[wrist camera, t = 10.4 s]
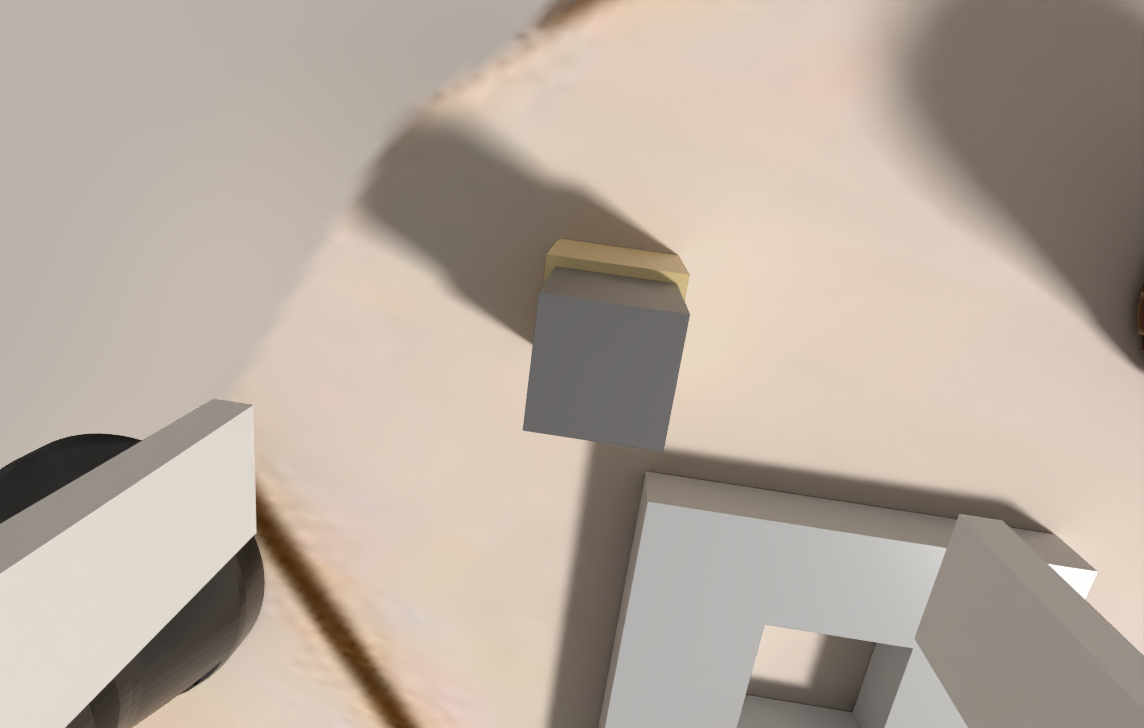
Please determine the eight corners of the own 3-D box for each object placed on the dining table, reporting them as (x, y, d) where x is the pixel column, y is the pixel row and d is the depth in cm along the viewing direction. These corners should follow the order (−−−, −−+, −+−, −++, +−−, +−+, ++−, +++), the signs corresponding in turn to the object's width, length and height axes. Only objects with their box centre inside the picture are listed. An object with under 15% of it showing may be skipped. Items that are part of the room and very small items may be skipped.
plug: (544, 352, 31) (509, 439, 21) (559, 238, 29) (527, 277, 20) (658, 369, 31) (673, 465, 21) (678, 255, 29) (705, 303, 19)
